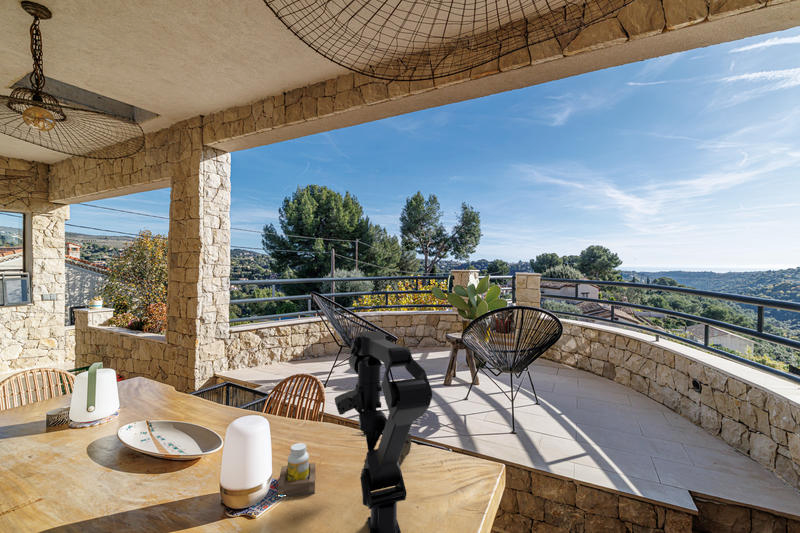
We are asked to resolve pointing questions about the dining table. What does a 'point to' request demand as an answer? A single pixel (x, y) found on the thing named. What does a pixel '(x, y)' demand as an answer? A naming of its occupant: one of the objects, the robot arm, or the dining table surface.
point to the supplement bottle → (298, 463)
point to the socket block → (296, 483)
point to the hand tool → (405, 449)
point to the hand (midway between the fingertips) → (367, 443)
